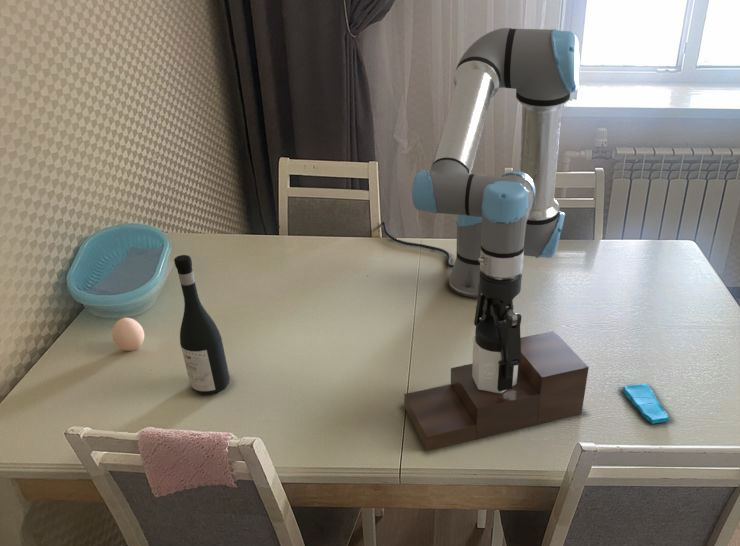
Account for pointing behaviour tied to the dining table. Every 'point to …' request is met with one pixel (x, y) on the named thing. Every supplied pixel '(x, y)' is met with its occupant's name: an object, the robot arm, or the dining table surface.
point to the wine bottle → (200, 338)
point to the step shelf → (502, 396)
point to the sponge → (646, 402)
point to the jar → (487, 357)
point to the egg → (128, 334)
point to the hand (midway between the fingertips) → (494, 374)
